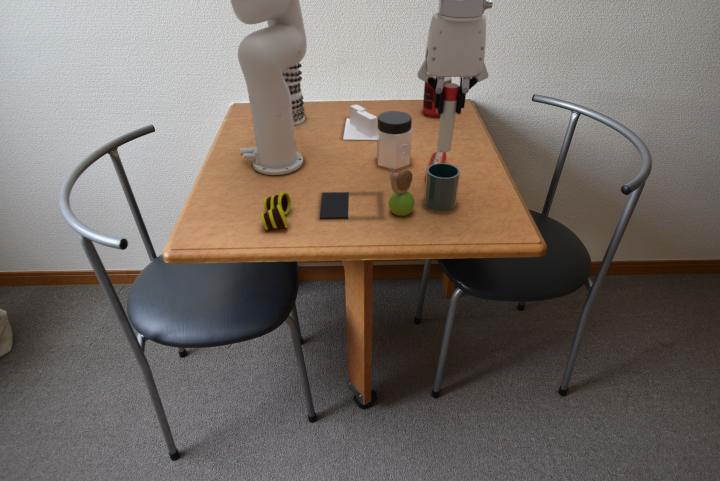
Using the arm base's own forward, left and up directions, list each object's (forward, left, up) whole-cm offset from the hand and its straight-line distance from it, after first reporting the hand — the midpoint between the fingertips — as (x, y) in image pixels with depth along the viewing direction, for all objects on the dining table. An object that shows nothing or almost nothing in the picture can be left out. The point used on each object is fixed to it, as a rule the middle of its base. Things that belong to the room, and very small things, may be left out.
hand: (448, 110), depth 91 cm
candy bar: (+1, +14, -22) cm, 26 cm away
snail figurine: (-9, -4, -22) cm, 24 cm away
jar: (-9, +20, -22) cm, 31 cm away
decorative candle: (-38, +48, -22) cm, 65 cm away
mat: (-19, 0, -21) cm, 29 cm away
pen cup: (0, 0, -21) cm, 21 cm away
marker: (0, 0, -8) cm, 8 cm away
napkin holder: (-16, +41, -22) cm, 49 cm away
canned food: (+6, +52, -22) cm, 56 cm away
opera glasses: (-35, -5, -22) cm, 41 cm away
